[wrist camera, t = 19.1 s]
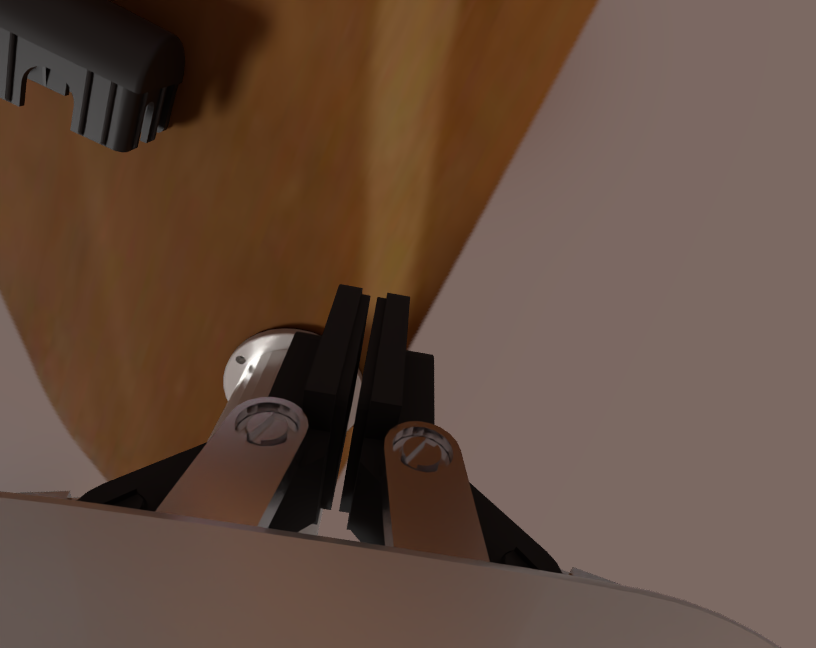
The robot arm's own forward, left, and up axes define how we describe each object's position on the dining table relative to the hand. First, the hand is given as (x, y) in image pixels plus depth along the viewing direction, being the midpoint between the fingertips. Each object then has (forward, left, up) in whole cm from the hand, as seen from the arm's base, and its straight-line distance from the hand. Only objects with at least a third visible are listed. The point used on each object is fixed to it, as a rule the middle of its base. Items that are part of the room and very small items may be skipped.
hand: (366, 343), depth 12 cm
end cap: (+1, +20, -27) cm, 34 cm away
